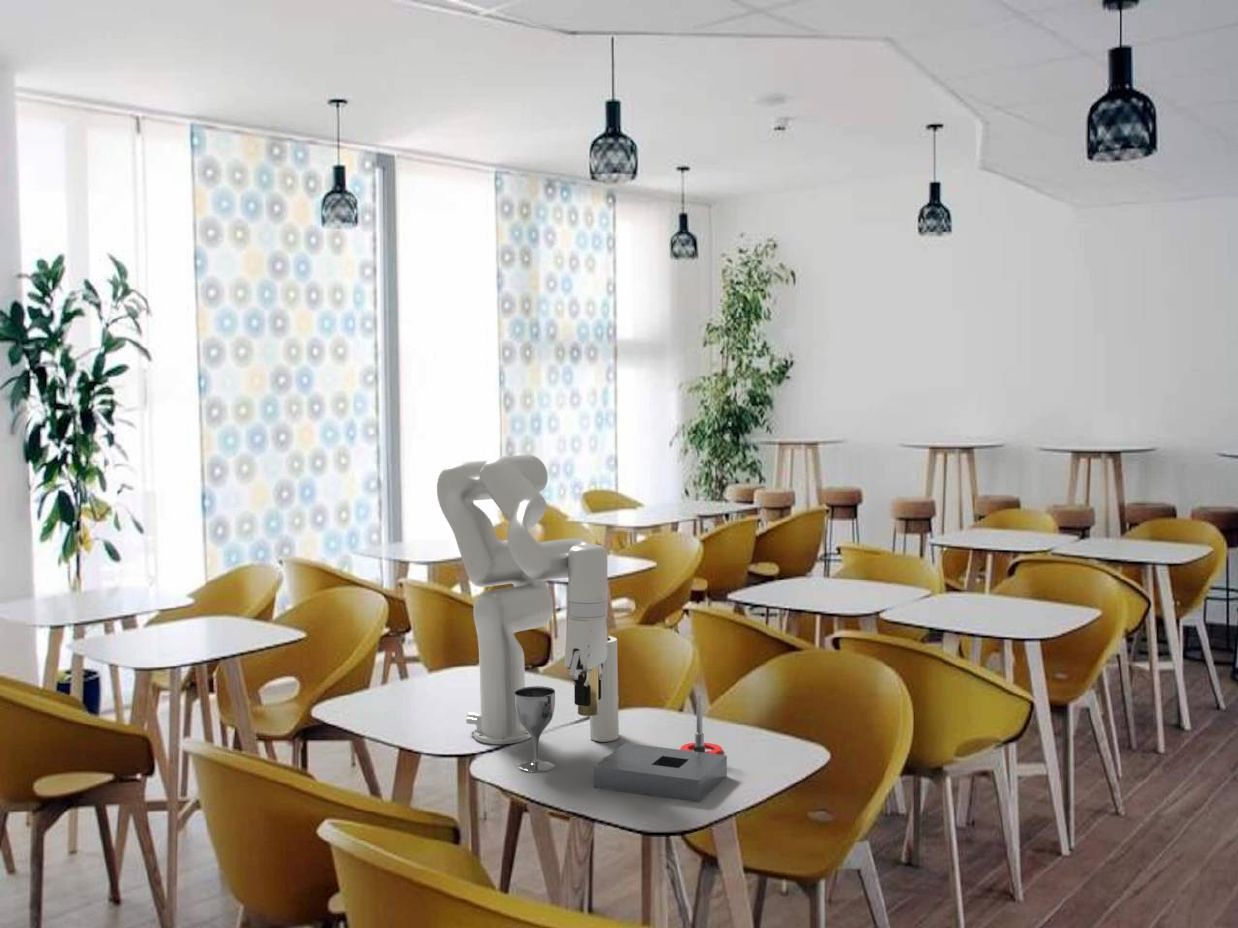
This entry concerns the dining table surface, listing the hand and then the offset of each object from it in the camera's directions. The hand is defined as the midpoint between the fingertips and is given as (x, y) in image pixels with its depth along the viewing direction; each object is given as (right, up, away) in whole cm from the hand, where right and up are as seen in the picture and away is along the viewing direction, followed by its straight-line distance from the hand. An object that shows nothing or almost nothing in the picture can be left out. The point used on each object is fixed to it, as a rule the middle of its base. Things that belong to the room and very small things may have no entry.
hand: (587, 700), depth 229 cm
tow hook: (+23, -13, +10) cm, 28 cm away
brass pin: (0, -2, 0) cm, 2 cm away
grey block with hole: (+14, -14, -7) cm, 21 cm away
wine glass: (-10, -14, +3) cm, 17 cm away
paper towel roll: (+3, -12, +21) cm, 25 cm away
